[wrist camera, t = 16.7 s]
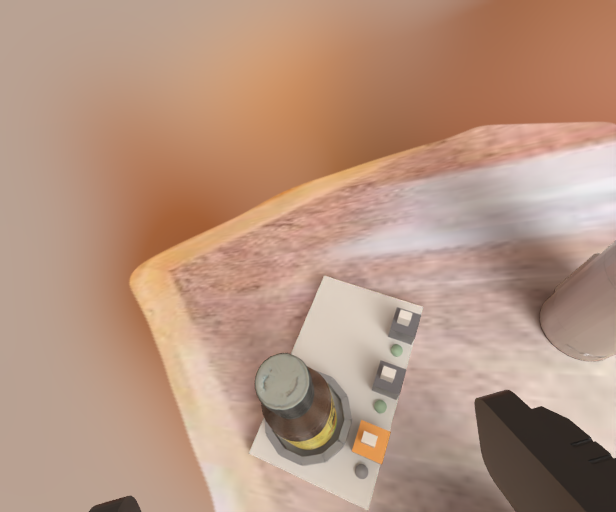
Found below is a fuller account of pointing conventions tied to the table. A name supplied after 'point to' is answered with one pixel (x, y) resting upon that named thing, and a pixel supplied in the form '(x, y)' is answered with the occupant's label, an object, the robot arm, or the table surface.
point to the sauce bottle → (296, 401)
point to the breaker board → (349, 386)
